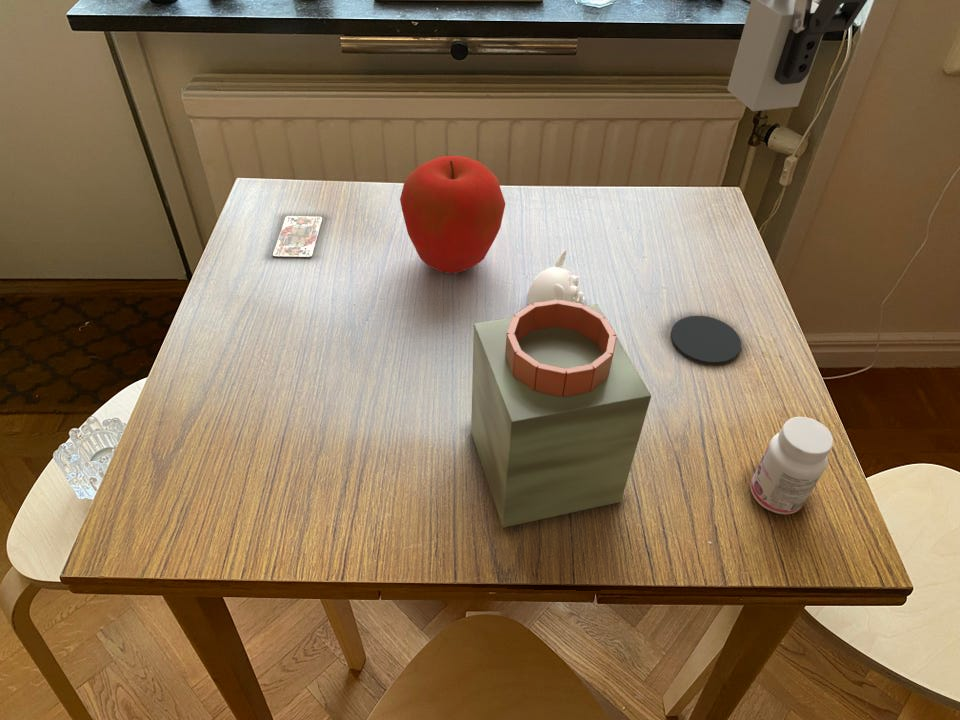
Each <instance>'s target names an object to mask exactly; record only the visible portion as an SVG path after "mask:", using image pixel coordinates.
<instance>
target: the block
mask: <svg viewBox="0 0 960 720" xmlns="http://www.w3.org/2000/svg"><path fill="white" fill-rule="evenodd" d="M794 6H795V0H752V1H751V0H750V4H749V8H748V12H747V16H746V20H745V22H744V26H743V30H742V33H741V37H740V41H739V45H738V48H737V52H736V55H735V59H734V63H733V67H732V70H731V72H730V73H731V75H730V77H729V80H728V84H727V88H726V90H727V91H728V92H729V93H730V94H732V95H733V96H734V97H735V98H736V99H737V100H738V101H740V102H741V103H742V104H743V105H745V106H746V107H748V109H749V110H751V111H752V112H758V111H759V112H760V111H769V110H778V109H787V108H797V107H799V105H800V101H801V99H802V96H803V93H804V90H805V88H806V85H807V82H808V79H809V77H810V74H811V70H812V68H813V66H814V62H815V60H816V58H817V57H816V56H817V53H818V51H819V47H820V45H821V43H822V39H823V37H824V35H823V36H822V38H821V40H820V43H819V46H818V49H817V52H816V54H815V57H814V58H813V59H814V60H813V63H812V64H811V65H812V66H811V68H810V71H809V73H808V75H807V76H806V77H805V78H804V79H803V80H802V81H801V82H800V83H794V84H784V85H782V84H780V83H779V82H777V81H776V80H775V78H774V76H775V73H776V69H777V66H778V63H779V60H780V57H781V54H782V51H783V48H784V44H785V41H786V38H787V35H788V32H789V30H792V18H793V12H794ZM818 6H819V3H817V2H815V1H813V0H812V6H811V12H810V13H814V12H815V11H816V9H817V7H818Z"/></svg>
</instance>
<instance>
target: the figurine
mask: <svg viewBox="0 0 960 720" xmlns="http://www.w3.org/2000/svg"><path fill="white" fill-rule="evenodd" d="M566 257H567V250H566V249H563V250H562V251H561V252H560V254H559V256H558V258H557V260H556V262H555V266H550V267H548V268H546V269H544V270H543V271H541V272H540V273H539V274H537V276H536V277H535V278H534V280H532V282H531V285H530V287H529V288H528V292H527V295H526V307H527V306H528V305H530V304H533V303H536V302H543V301H549V300H557V301H558V300H564V301H570V302H575V303H580V304H584V302H585V300H586V298H585V296H584V295H585V294H584V293H583V292H582V291H581V290H580V285H579V281H580V280H579V279H580V276H579V275H575V274H572V272H571V271H570V270H568V269H567V268H564V267H563V264H564V263H565V260H566Z"/></svg>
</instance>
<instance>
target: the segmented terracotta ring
mask: <svg viewBox="0 0 960 720" xmlns="http://www.w3.org/2000/svg"><path fill="white" fill-rule="evenodd" d="M588 306H589V305H587V304H584V303H582V304H580V303H575V302H570V301H564V300H558V301H557V300H549V301H543V302H536V303H533V304H530V305H528V306H527V305H526V306H525V307H524V308H522V309H521V310H519V311H518V312H516V313H515V314H513V315H512V317H511V318H512V319H511V322H510V325H509V328H508V330H507V334H506V349H505V358H506V360H507V363H508V365H509V368H510V370H511V373H512V375H514V377H515V378H517V379H518V380H519V381H521V382H522V383H524V384H525V385H526V386H528V387H529V388H531V389H532V390H535V391H536V392H541V393H546V394H550V395H555V396H560V397H562V396H563V397H566V396H572V395H577V394H583V393H588V392H590V391H592V390H593V389H595V388H596V387H597V386H598V385H600V384H601V383H602V382H603V381H605V380H606V379H607V378H608V376H609V372H610V368H611V363H612V359H613V354H614V349H615V344H616V339H617V338H618V337H617V333H616V332H615V330H614V328H613V326H612V325H611V323H610V321H609V320H608V318H607V317H606V315H604V316H603V315H601V314H600V313H598V312H596V311H595V310H593V309H591V308H590V307H588ZM550 327H559V328H564V329H569V330H574V331H578V332H580V333H581V334H583V335H585V336H586V337H588V338H589V339H591V340H592V341H594V342H596V344H597V346H598V348H599V349H600V351H601V353H602V355H601V356H600V357H599V358H597V359H596V360H595V361H594V362H592V363H591V364H588V365H583V366H577V367H571V368H561V367H556V366H551V365H546V364H542V363H539V362H538V361H536V360H535V359H534V358H532V357H531V356H529V355H528V354H526V353H525V352H523V351H522V350H521V348H520V346H519V343H518V340H520V339H521V338H523V337H524V336H526V335H527V334H529V333H530V332H531V331H533V330H538V329H544V328H550Z"/></svg>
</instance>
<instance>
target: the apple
mask: <svg viewBox="0 0 960 720" xmlns="http://www.w3.org/2000/svg"><path fill="white" fill-rule="evenodd" d="M399 201H400V206H401V212H402V215H403V216H402V217H403V219H404V225H405V228H406V232H407V235H408V237H409V239H410V241H411V243H412V245H413V248H414V249H415V251H416V253H417V255H418V257H419V258H420V259H421V261H422V262H423V263H424V264H425V265H426V266H428V267H430V268H431V269H434V270H437V271H438V272H441V273H444V274H457V273H458V274H459V273H461V272H465V271H467V270H469V269H471V268H473V267H476V266H477V265H478V264H480V263H481V262H482V261H484V260H485V258H486V256H487V254H488V252H489V250H490V249H491V247H492V245H493V243H494V241H495V240H496V238H497V236H498V234H499V231H500V230H501V226H502V221H503V218H504V212H505V209H506V201H505V198H504V194H503V191H502V189H501V186H500V182H499V179H498V177H497V176H496V175H495V174H494V173H493V172H492V171H491V170H489V168H488V167H486V166H485V165H484V164H483V163H481V162H480V161H478V160H475V159H472V158H470V157H465V156H460V155H446V156H445V155H442V156H439V157H435V158H433V159H429V160H427V161H426V162H424V163H421V164H420V165H419V166H417V168H415V169H414V170H413V171H412V172H410V173H409V175H408V176H407V178H406V179H405V181H404V182H403V187H402V189H401V194H400V198H399Z"/></svg>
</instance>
